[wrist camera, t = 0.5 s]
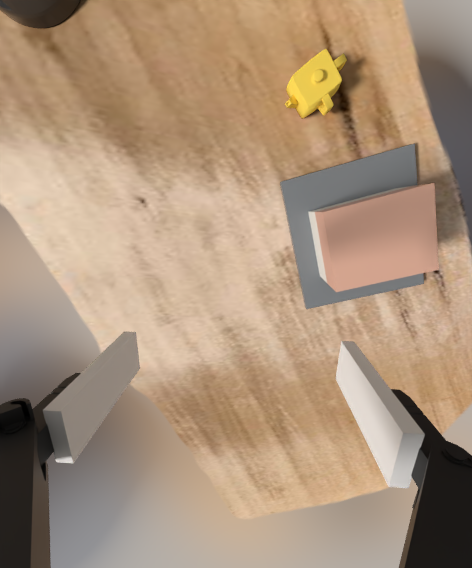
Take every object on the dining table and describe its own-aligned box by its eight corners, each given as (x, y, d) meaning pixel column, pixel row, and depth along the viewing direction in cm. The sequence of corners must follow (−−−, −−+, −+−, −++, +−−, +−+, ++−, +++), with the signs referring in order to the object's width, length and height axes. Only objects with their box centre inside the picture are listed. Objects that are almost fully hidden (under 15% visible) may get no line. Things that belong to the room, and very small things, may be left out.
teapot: (295, 139, 35) (302, 128, 30) (272, 100, 34) (276, 82, 29) (347, 100, 33) (364, 80, 28) (325, 57, 32) (339, 29, 27)
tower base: (279, 182, 36) (288, 174, 28) (410, 145, 34) (463, 123, 25) (305, 306, 42) (319, 332, 33) (419, 281, 39) (466, 302, 31)
